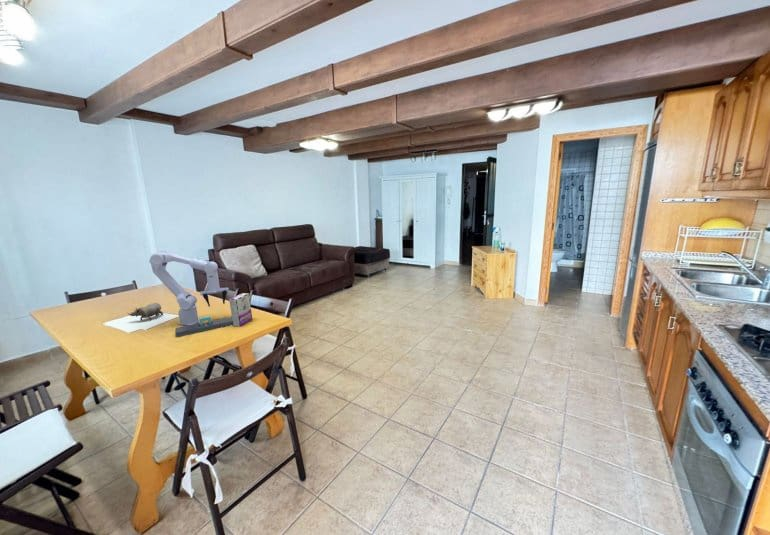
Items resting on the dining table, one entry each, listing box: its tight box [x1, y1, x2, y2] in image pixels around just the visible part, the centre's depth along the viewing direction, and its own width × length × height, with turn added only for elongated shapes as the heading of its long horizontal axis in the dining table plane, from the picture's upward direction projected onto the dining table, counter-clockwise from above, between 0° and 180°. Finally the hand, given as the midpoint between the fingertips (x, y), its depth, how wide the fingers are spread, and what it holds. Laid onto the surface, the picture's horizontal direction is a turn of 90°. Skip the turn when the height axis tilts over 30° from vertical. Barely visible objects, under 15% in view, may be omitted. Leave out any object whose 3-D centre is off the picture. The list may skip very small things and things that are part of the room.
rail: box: [174, 316, 233, 338], centre depth 166 cm, size 28×8×2 cm, turn 124°
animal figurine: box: [126, 302, 164, 321], centre depth 181 cm, size 8×14×15 cm
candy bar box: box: [228, 292, 253, 328], centre depth 171 cm, size 11×5×16 cm, turn 168°
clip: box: [198, 315, 212, 326], centre depth 165 cm, size 5×2×6 cm, turn 124°
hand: (216, 304), depth 176 cm, fingers open, 7 cm apart
